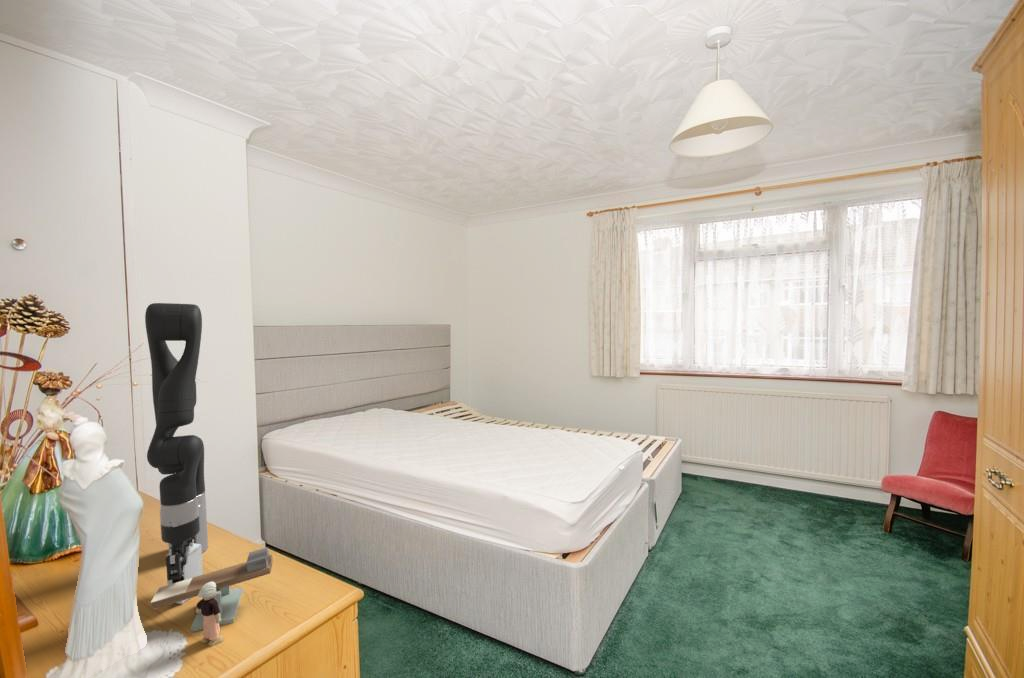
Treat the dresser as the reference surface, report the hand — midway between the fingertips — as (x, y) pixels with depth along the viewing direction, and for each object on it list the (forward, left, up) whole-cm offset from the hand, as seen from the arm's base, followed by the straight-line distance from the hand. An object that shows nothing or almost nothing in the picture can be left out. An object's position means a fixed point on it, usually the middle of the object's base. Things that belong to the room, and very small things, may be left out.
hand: (184, 581), depth 110 cm
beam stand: (+9, +9, -4) cm, 13 cm away
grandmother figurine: (+19, +9, -4) cm, 22 cm away
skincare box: (0, 0, -4) cm, 4 cm away
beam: (+9, +9, +2) cm, 13 cm away
